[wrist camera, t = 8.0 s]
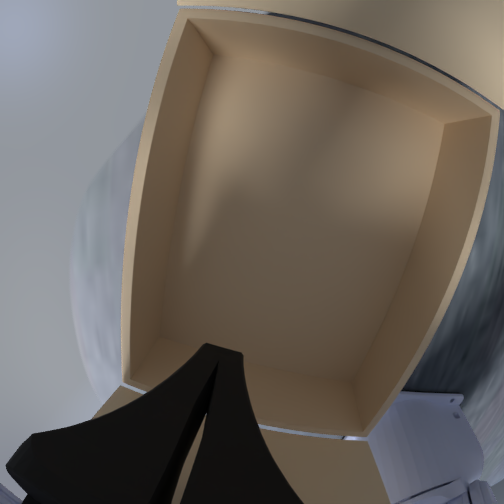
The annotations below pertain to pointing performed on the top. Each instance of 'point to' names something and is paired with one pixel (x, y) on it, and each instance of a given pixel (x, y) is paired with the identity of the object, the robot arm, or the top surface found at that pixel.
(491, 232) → the top surface
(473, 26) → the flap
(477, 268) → the top surface
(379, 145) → the carton
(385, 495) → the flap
